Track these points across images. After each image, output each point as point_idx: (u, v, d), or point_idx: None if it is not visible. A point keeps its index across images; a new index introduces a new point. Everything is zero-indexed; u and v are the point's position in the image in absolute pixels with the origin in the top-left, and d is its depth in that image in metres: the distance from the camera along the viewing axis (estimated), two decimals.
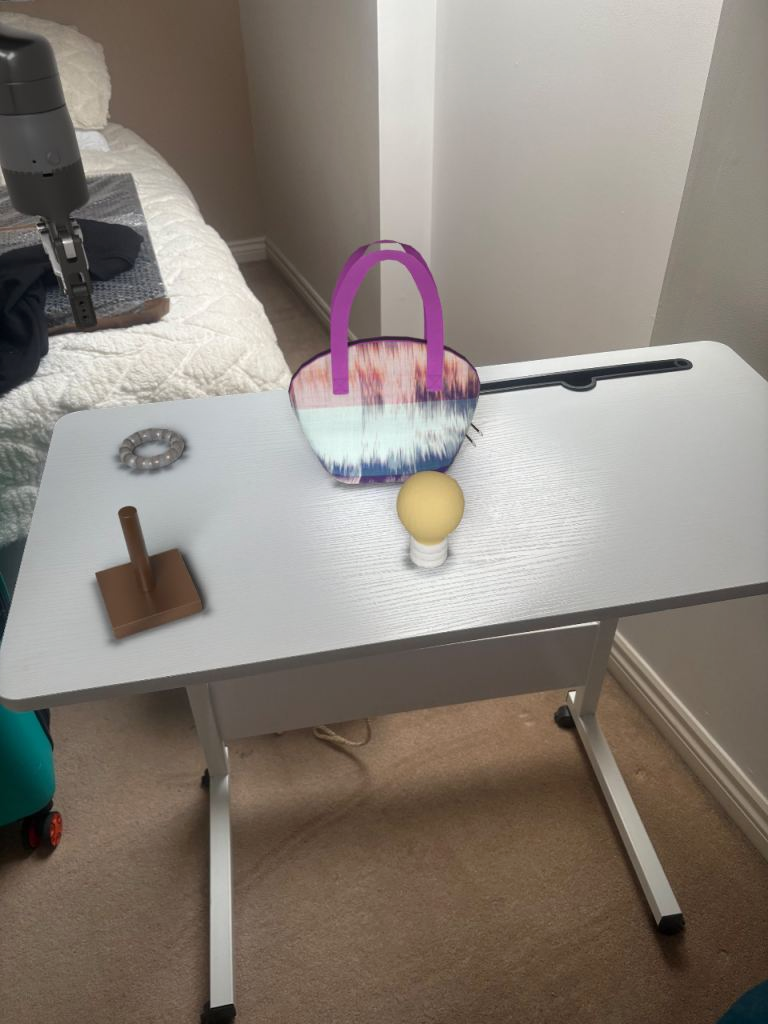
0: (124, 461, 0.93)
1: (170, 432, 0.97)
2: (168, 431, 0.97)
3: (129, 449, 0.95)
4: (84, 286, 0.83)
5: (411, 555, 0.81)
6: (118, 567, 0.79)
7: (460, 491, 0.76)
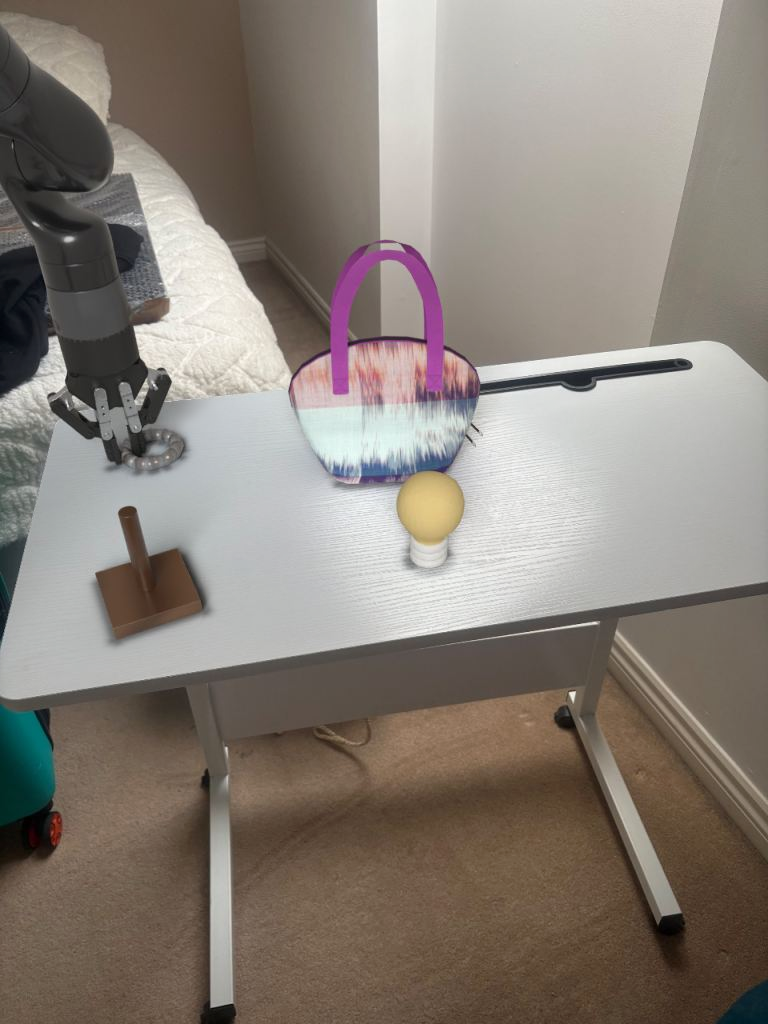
0: (123, 461, 0.93)
1: (169, 432, 0.97)
2: (167, 431, 0.97)
3: (128, 449, 0.95)
4: None
5: (411, 555, 0.81)
6: (118, 567, 0.79)
7: (460, 491, 0.76)
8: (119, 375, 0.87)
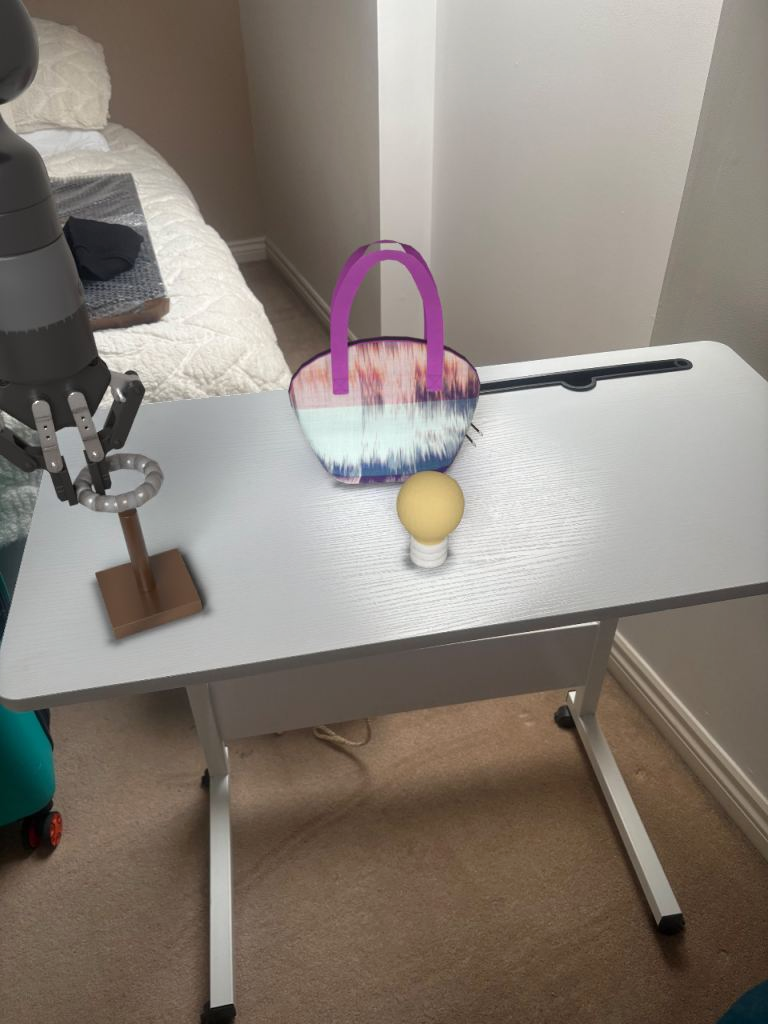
0: (80, 501, 0.67)
1: (145, 459, 0.71)
2: (142, 458, 0.71)
3: (87, 483, 0.68)
4: None
5: (411, 555, 0.81)
6: (118, 567, 0.79)
7: (460, 491, 0.76)
8: (69, 381, 0.61)
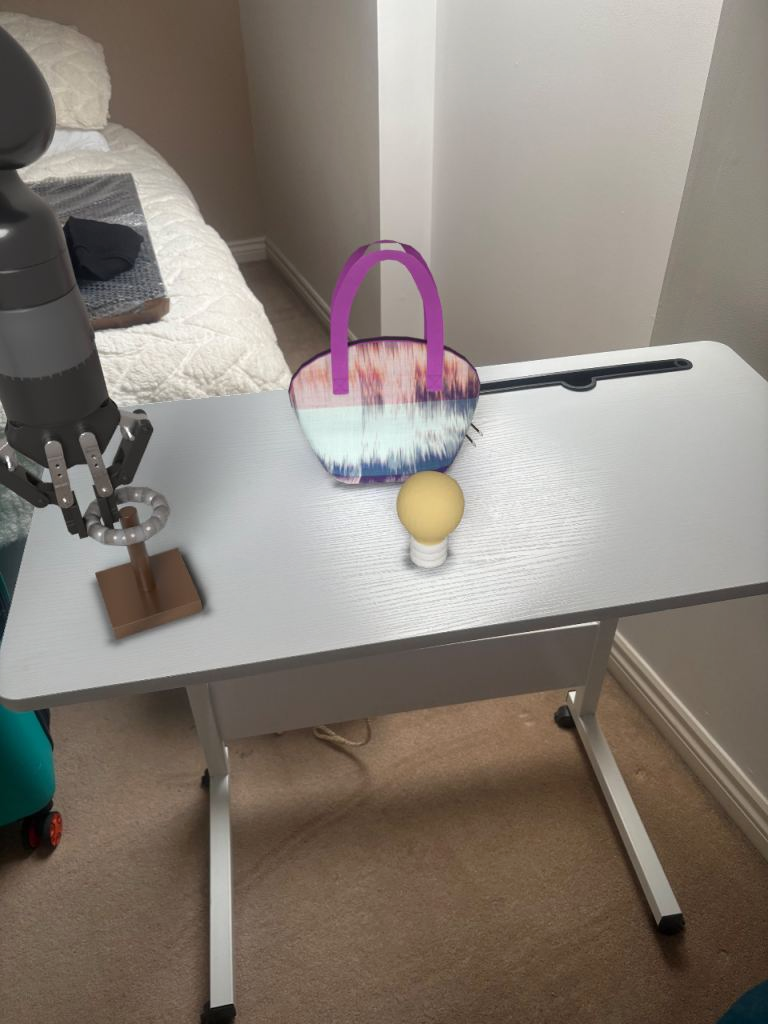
0: (89, 534, 0.69)
1: (152, 493, 0.73)
2: (150, 491, 0.73)
3: (96, 517, 0.71)
4: None
5: (411, 555, 0.81)
6: (118, 567, 0.79)
7: (460, 491, 0.76)
8: (80, 421, 0.63)
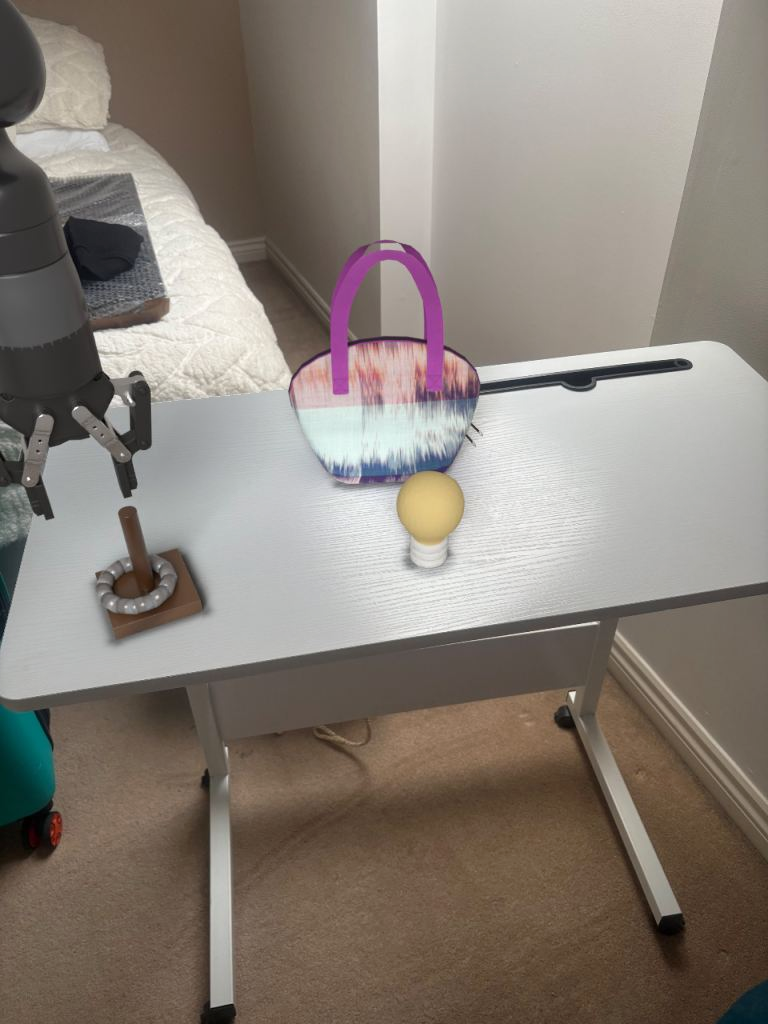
0: (102, 603, 0.74)
1: (160, 561, 0.78)
2: (157, 559, 0.78)
3: (108, 586, 0.75)
4: None
5: (411, 555, 0.81)
6: None
7: (460, 491, 0.76)
8: (73, 395, 0.62)
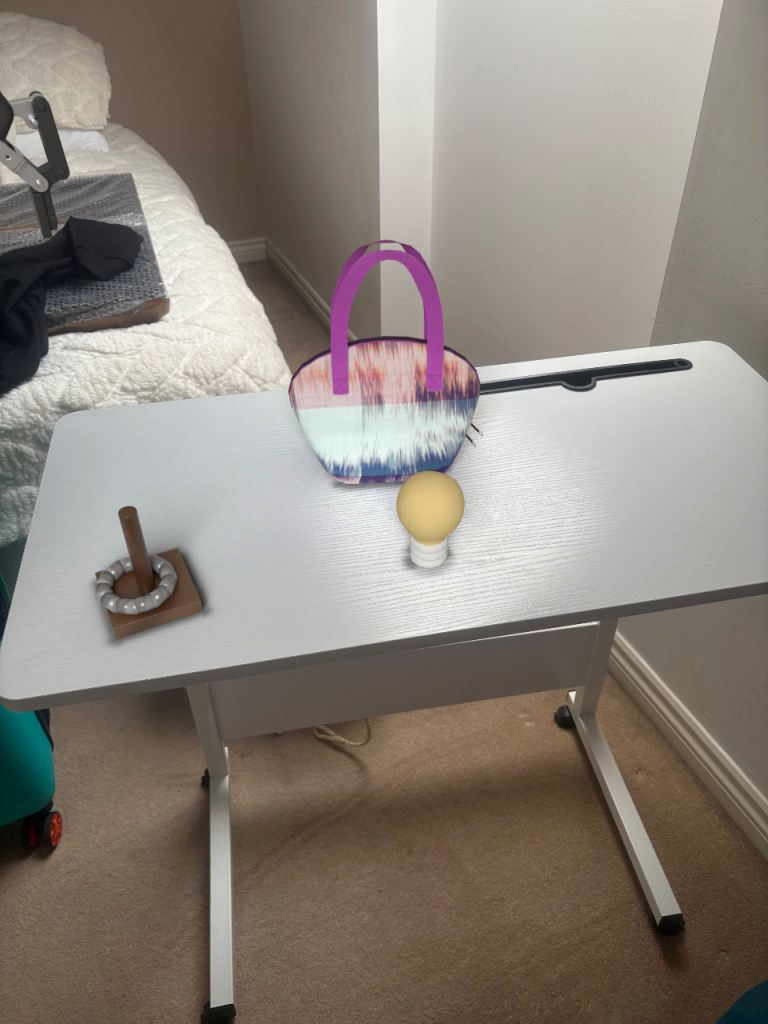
0: (102, 603, 0.74)
1: (160, 561, 0.78)
2: (157, 559, 0.78)
3: (108, 586, 0.75)
4: None
5: (411, 555, 0.81)
6: None
7: (460, 491, 0.76)
8: None
